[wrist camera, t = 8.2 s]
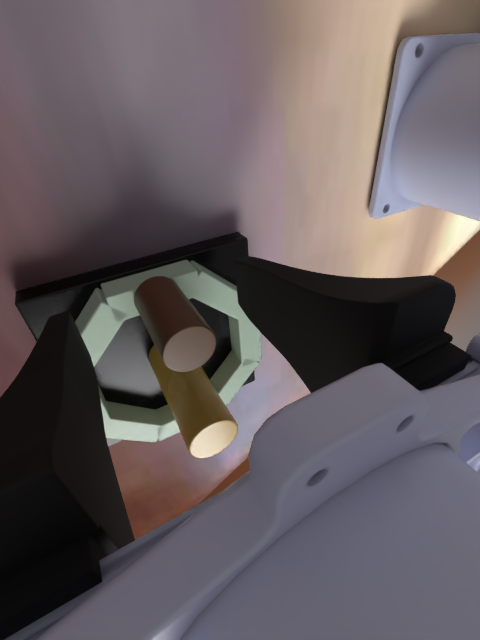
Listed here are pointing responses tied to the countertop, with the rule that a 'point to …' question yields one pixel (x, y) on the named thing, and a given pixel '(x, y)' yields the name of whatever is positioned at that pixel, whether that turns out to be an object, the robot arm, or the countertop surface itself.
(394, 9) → the countertop surface
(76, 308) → the peg stand
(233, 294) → the ring
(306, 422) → the robot arm
